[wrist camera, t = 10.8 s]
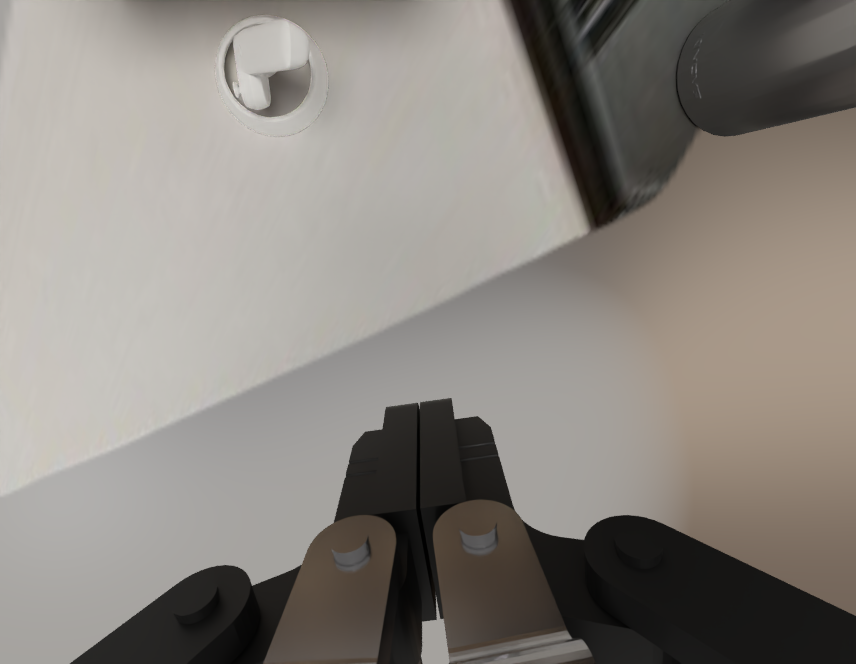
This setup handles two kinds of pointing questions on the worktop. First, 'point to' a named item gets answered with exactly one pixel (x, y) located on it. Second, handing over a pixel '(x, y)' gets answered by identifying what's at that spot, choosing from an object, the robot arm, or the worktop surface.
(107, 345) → the worktop surface
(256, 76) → the white lever switch
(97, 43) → the worktop surface
